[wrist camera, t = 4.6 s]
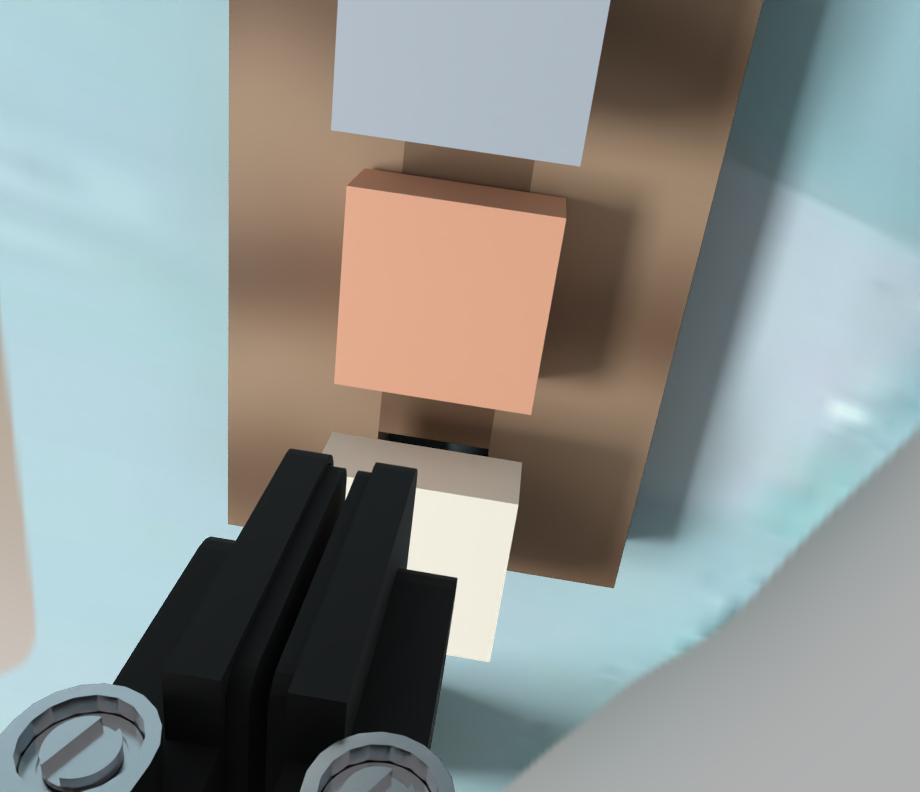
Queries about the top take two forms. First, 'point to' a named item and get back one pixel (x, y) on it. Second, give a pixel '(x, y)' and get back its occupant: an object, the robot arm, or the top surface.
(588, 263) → the walnut board
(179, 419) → the top surface
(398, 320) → the terracotta key
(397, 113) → the slate key
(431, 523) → the cream key
